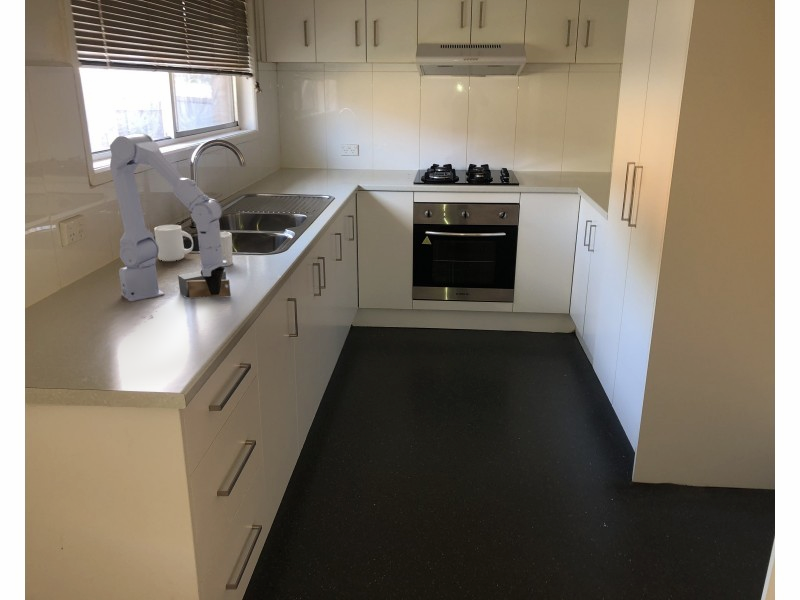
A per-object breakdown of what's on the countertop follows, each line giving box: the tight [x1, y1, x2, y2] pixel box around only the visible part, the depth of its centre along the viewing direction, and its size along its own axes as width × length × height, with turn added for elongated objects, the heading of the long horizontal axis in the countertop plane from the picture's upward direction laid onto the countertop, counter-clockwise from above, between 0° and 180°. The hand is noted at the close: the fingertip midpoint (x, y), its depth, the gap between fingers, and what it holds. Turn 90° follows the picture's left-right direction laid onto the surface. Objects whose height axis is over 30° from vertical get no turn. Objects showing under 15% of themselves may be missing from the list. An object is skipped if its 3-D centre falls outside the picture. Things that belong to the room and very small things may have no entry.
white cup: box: [220, 231, 234, 267], centre depth 208 cm, size 8×8×10 cm
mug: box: [153, 224, 194, 262], centre depth 215 cm, size 9×12×11 cm
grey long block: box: [177, 270, 227, 298], centre depth 182 cm, size 12×5×5 cm, turn 129°
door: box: [185, 279, 232, 299], centre depth 176 cm, size 12×2×5 cm, turn 94°
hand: (215, 294), depth 174 cm, fingers closed
